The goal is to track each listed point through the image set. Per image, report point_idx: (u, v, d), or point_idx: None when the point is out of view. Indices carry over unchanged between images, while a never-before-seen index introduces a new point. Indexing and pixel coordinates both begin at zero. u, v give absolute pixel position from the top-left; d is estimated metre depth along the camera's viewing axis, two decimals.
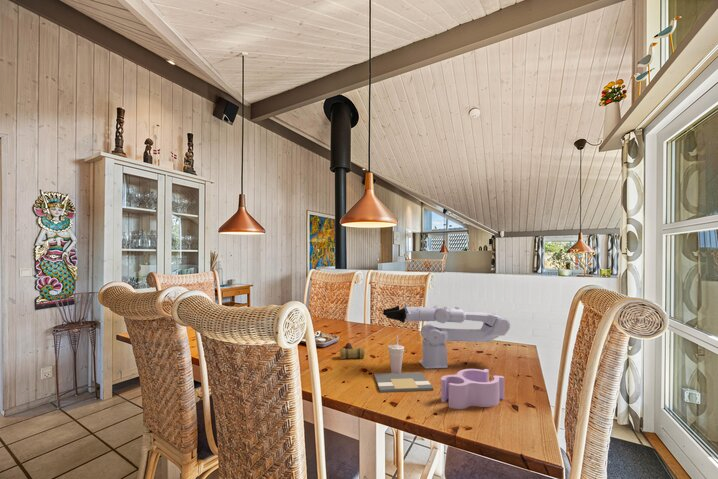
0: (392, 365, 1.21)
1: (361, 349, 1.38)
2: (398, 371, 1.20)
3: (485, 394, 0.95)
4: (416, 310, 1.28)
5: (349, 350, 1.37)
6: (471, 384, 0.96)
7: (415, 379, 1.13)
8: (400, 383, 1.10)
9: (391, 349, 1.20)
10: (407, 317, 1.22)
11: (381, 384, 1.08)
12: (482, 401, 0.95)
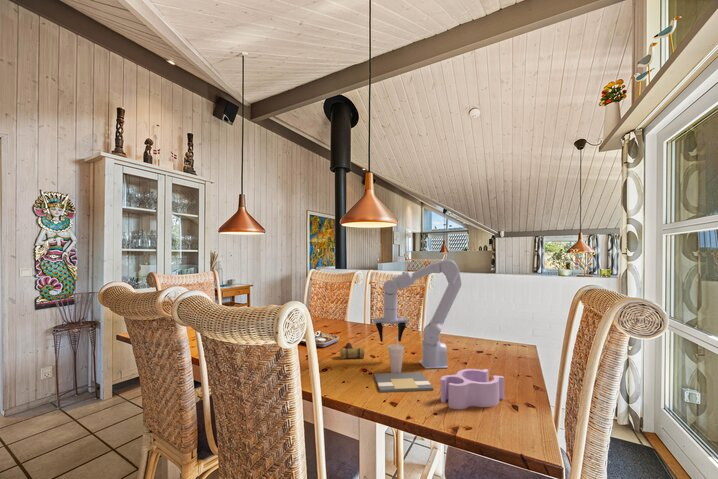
0: (392, 365, 1.21)
1: (361, 349, 1.38)
2: (398, 371, 1.20)
3: (485, 394, 0.95)
4: None
5: (349, 350, 1.38)
6: (471, 384, 0.96)
7: (415, 379, 1.13)
8: (400, 383, 1.10)
9: (391, 349, 1.20)
10: (373, 323, 1.33)
11: (381, 384, 1.08)
12: (482, 401, 0.95)
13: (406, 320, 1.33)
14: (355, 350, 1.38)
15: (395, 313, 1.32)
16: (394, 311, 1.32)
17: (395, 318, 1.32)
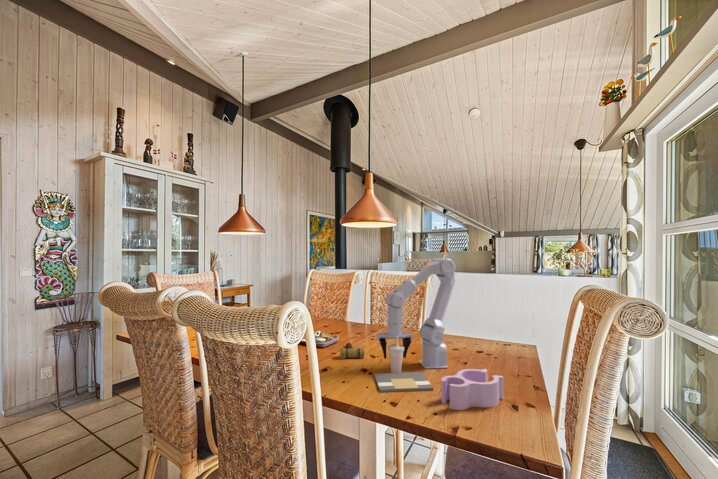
0: (392, 365, 1.21)
1: (361, 349, 1.38)
2: (398, 371, 1.20)
3: (486, 394, 0.95)
4: None
5: (349, 350, 1.38)
6: (472, 384, 0.95)
7: (415, 379, 1.13)
8: (400, 383, 1.10)
9: (391, 349, 1.20)
10: (376, 338, 1.24)
11: (381, 384, 1.08)
12: (483, 401, 0.95)
13: (411, 335, 1.25)
14: (355, 350, 1.38)
15: (400, 328, 1.23)
16: (398, 326, 1.23)
17: (400, 333, 1.23)
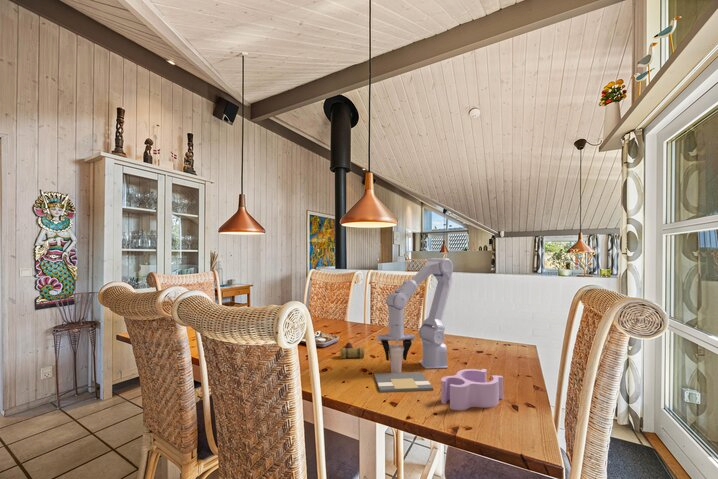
0: (392, 365, 1.21)
1: (361, 349, 1.39)
2: (398, 371, 1.20)
3: (486, 395, 0.95)
4: None
5: (349, 349, 1.38)
6: (472, 385, 0.95)
7: (415, 379, 1.13)
8: (400, 383, 1.10)
9: (391, 349, 1.20)
10: (377, 340, 1.22)
11: (381, 384, 1.08)
12: (483, 401, 0.95)
13: (413, 337, 1.22)
14: (355, 350, 1.38)
15: (401, 329, 1.21)
16: (400, 327, 1.20)
17: (401, 335, 1.21)
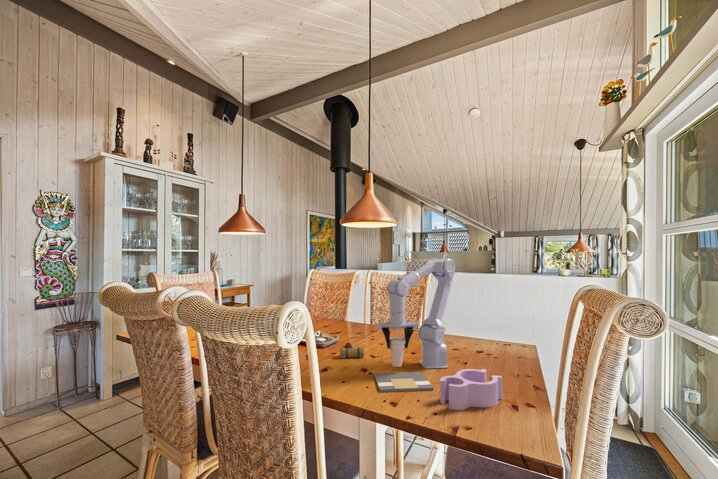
0: (393, 358, 1.19)
1: (361, 348, 1.39)
2: (399, 364, 1.18)
3: (485, 395, 0.95)
4: None
5: (349, 349, 1.38)
6: (471, 385, 0.95)
7: (415, 379, 1.13)
8: (400, 383, 1.10)
9: (392, 341, 1.18)
10: (378, 327, 1.20)
11: (381, 384, 1.08)
12: (482, 401, 0.95)
13: (415, 324, 1.20)
14: (355, 349, 1.38)
15: (402, 317, 1.19)
16: (401, 315, 1.18)
17: (402, 322, 1.19)
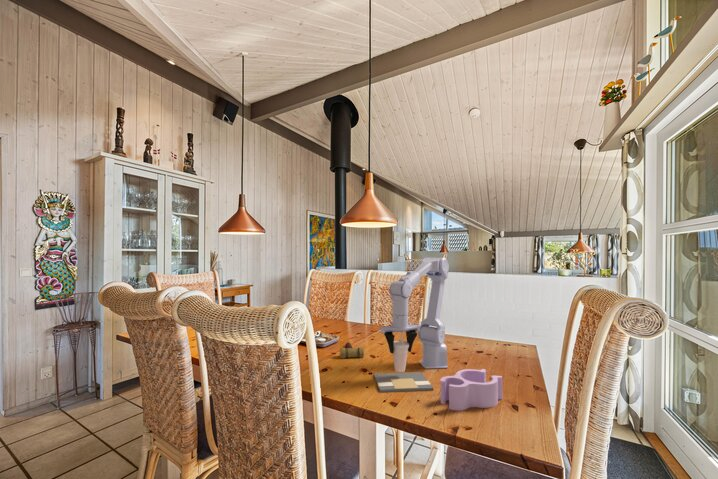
0: (396, 363, 1.14)
1: (361, 348, 1.39)
2: (403, 369, 1.14)
3: (485, 395, 0.94)
4: None
5: (349, 349, 1.38)
6: (471, 385, 0.95)
7: (415, 379, 1.13)
8: (400, 383, 1.10)
9: (396, 346, 1.13)
10: (382, 332, 1.13)
11: (381, 384, 1.08)
12: (482, 402, 0.94)
13: (418, 327, 1.16)
14: (355, 349, 1.39)
15: (407, 319, 1.14)
16: (406, 317, 1.14)
17: (407, 325, 1.14)
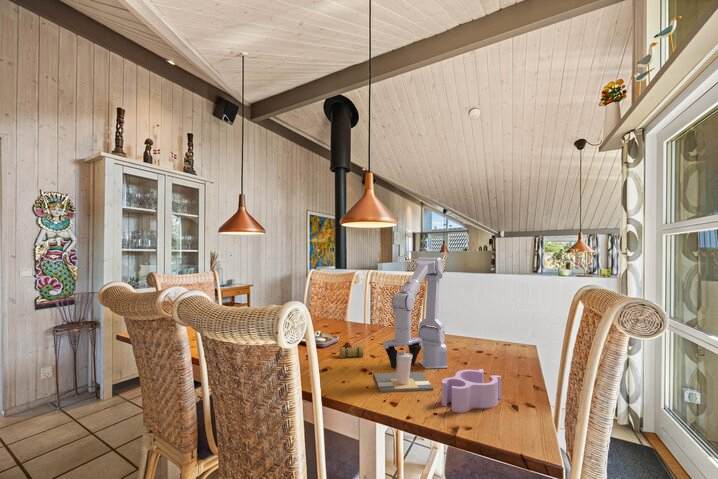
0: (400, 375, 1.08)
1: (360, 348, 1.40)
2: (407, 381, 1.08)
3: (487, 395, 0.94)
4: None
5: (348, 349, 1.39)
6: (473, 386, 0.94)
7: (415, 379, 1.13)
8: None
9: (400, 357, 1.08)
10: (385, 347, 1.08)
11: (381, 384, 1.08)
12: (483, 402, 0.94)
13: (420, 340, 1.13)
14: (354, 349, 1.39)
15: (410, 333, 1.10)
16: (409, 331, 1.10)
17: (410, 339, 1.10)
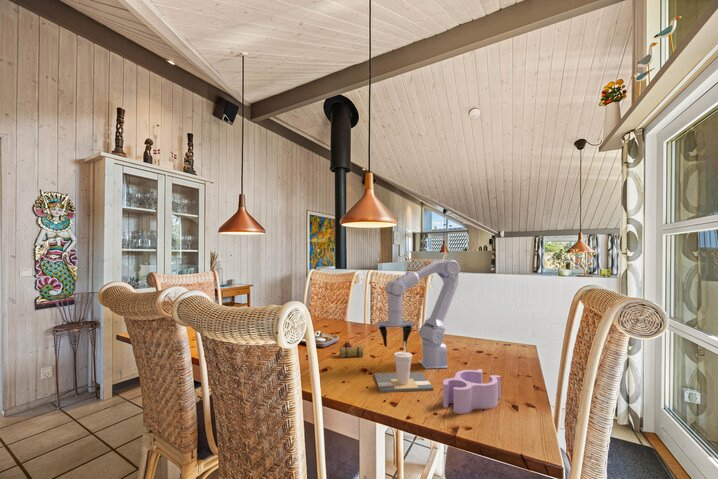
0: (400, 375, 1.08)
1: (360, 348, 1.40)
2: (407, 381, 1.08)
3: (488, 396, 0.94)
4: None
5: (348, 349, 1.39)
6: (474, 386, 0.94)
7: (415, 379, 1.13)
8: None
9: (400, 358, 1.07)
10: (377, 326, 1.24)
11: (381, 384, 1.08)
12: (484, 403, 0.94)
13: (412, 323, 1.24)
14: (354, 349, 1.40)
15: (400, 316, 1.23)
16: (399, 314, 1.23)
17: (400, 321, 1.23)
